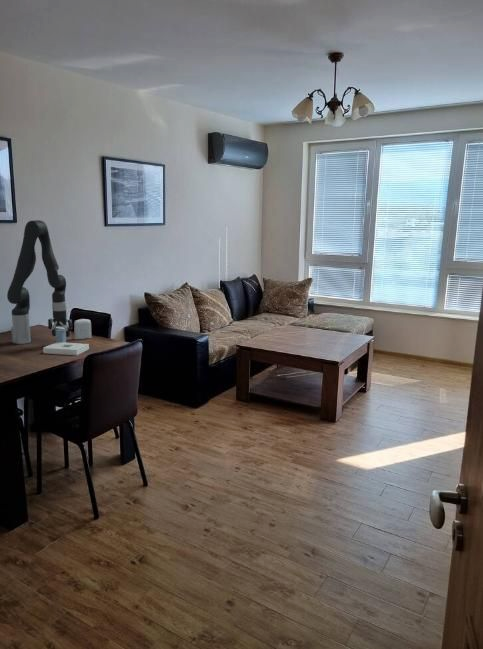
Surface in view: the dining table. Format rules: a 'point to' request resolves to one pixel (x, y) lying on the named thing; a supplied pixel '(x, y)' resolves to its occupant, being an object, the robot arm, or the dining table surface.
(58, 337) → the peg
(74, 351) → the socket
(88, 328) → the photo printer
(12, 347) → the dining table surface
